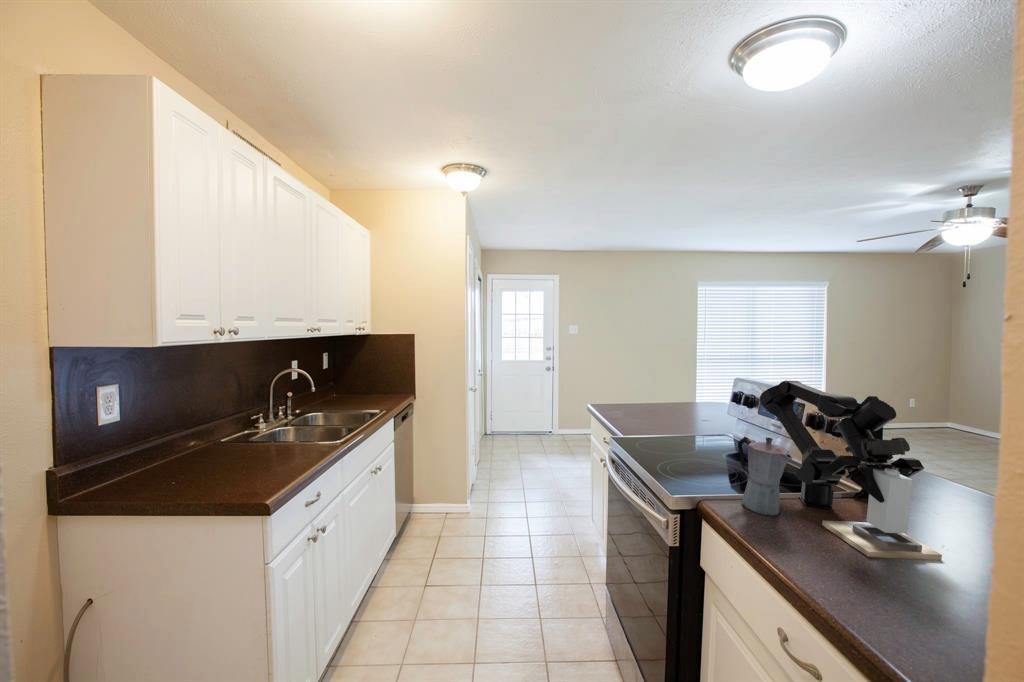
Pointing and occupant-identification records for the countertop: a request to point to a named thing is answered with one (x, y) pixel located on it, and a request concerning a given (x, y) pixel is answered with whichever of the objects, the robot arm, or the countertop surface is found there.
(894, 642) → the countertop surface
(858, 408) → the robot arm
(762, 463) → the moka pot
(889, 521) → the white rectangular bottle
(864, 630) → the countertop surface
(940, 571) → the countertop surface
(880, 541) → the baseplate
